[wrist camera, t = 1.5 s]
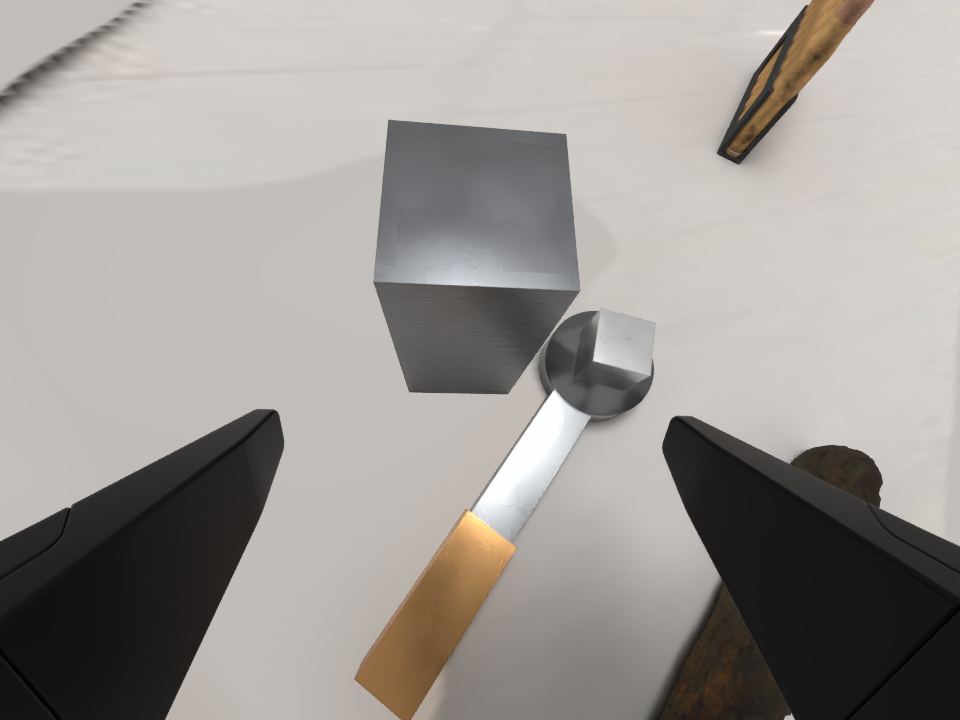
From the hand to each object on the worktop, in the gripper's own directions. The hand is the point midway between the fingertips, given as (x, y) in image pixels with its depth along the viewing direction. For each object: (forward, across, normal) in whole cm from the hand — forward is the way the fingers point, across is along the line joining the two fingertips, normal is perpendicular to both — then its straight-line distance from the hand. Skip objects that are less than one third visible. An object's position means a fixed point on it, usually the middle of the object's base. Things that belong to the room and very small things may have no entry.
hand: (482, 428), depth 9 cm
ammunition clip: (+29, -23, -10) cm, 38 cm away
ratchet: (+8, -3, +10) cm, 13 cm away
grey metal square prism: (+14, 0, +4) cm, 15 cm away
